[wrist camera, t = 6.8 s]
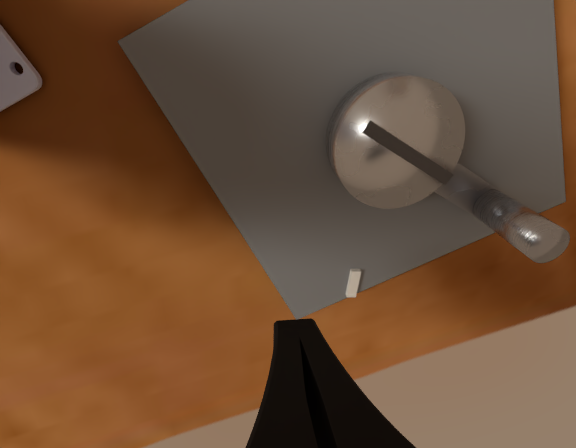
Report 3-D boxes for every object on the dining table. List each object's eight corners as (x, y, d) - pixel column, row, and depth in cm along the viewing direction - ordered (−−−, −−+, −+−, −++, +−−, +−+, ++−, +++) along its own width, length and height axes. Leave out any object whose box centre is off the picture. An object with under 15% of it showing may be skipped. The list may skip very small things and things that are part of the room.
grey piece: (303, 160, 17) (324, 203, 13) (374, 45, 15) (429, 47, 11) (454, 245, 21) (512, 301, 16) (529, 161, 19) (620, 200, 14)
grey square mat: (124, 41, 15) (115, 41, 14) (521, -187, 13) (547, -209, 12) (294, 309, 24) (297, 323, 23) (552, 194, 22) (569, 203, 21)
